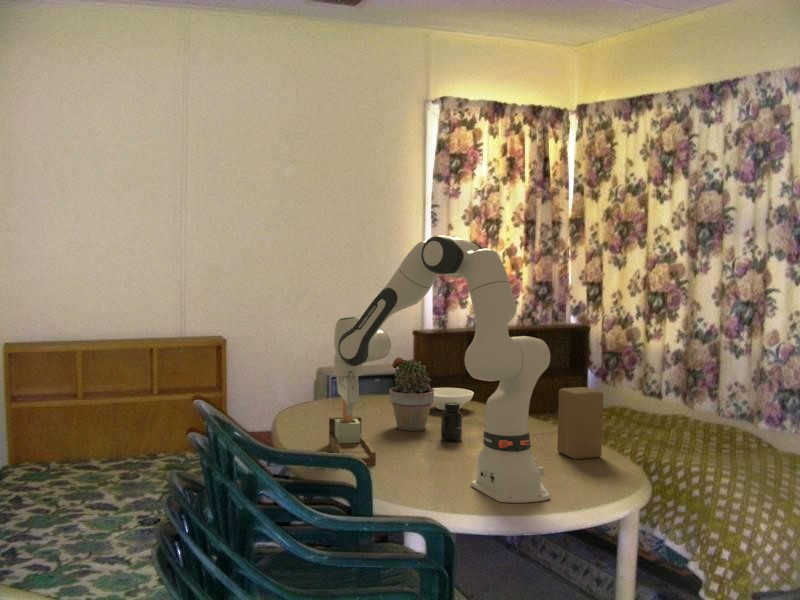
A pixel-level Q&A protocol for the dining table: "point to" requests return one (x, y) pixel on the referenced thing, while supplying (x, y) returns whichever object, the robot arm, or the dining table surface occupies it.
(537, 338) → the robot arm
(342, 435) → the socket block
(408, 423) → the potted plant
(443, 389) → the bowl
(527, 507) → the dining table surface
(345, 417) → the dowel
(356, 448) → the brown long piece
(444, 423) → the supplement bottle
